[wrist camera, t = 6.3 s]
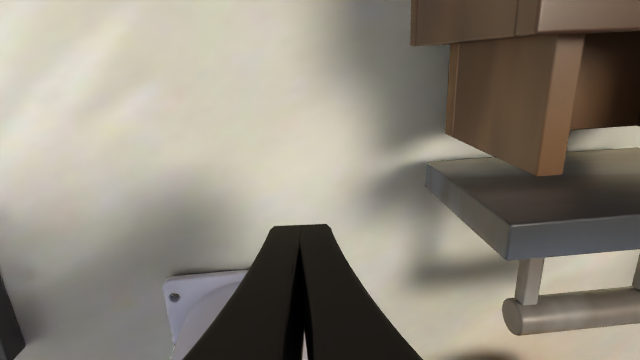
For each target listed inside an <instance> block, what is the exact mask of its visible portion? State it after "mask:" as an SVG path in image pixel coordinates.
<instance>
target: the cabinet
mask: <svg viewBox="0 0 640 360" xmlns="http://www.w3.org/2000/svg"><path fill="white" fill-rule="evenodd" d="M630 31H640V0H412V1H411V35H410V46H434V45H451V44H453V43H464V42H475V41H486V40H498V39H509V38H520V37H531V36H542V35H562V34H585V33H607V32H630Z"/></svg>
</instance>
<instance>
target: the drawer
mask: <svg viewBox="0 0 640 360" xmlns="http://www.w3.org/2000/svg"><path fill="white" fill-rule="evenodd" d="M622 126H640V31H630V32H607V33H585V34H562V35H542V36H531V37H520V38H509V39H498V40H486V41H475V42H464V43H453V44H451V47H450V63H449V79H448V95H447V111H446V127H445V134H447V135H449V136H451V137H454V138H456V139H458V140H460V141H462V142H464V143H466V144H468V145H471V146H473V147H475V148H477V149H479V150H481V151H483V152H485V153H488V154H490V155H492V156H494V158H479V159H465V160H450V161H436V162H426V168H425V187H426V188H427V189H428V190H429V191H431V192H432V193H433V194H434V195H435V196H436V197H437V198H438V199H439V200H440V201H441V202H443V203H444V204H445V205H446V206H447V207H448V208H449V209H450V210H451V211H452V212H454V213H455V214H456V215H457V216H458V217H459V218H460V219H461V220H462V221H463V222H464V223H466V224H467V225H468V226H469V227H470V228H471V229H472V230H473V231H474V232H475V233H477V234H478V235H479V236H480V237H481V238H482V239H483V240H484V241H485V242H486V243H487V244H489V245H490V246H491V247H492V248H493V249H494V250H495V251H496V252H497V253H498V254H499V255H501V256H502V257H503V258H504V259H505V260H507V261H510V260H520V262H519V269H518V276H517V283H516V290H515V298H508V299H506V300H505V301H504V302H503V306H502V313H503V318H504V321H505V323H506V326H507V327H508V329H509V330H510V331H511V332H512V333H513V334H514V335H517V336H520V335H530V334H539V333H549V332H559V331H568V330H578V329H587V328H597V327H607V326H616V325H626V324H635V323H640V255H639V259H638V263H637V267H636V271H635V274H634V278H633V282H632V286H631V287H621V288H611V289H600V290H590V291H580V292H569V293H559V294H548V295H539V289H540V283H541V276H542V270H543V264H544V258H545V257H555V256H567V255H578V254H589V253H600V252H612V251H623V250H634V249H640V148H626V149H611V150H597V151H582V152H567V153H566V150H567V144H568V138H569V132H570V130H575V129H590V128H606V127H622Z"/></svg>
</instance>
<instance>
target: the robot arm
mask: <svg viewBox="0 0 640 360" xmlns="http://www.w3.org/2000/svg"><path fill="white" fill-rule="evenodd" d="M162 290H163V294H164V299H165V304H166V309H167V314H168V319H169V323H170V328H171V333H172V338H173V343H174V350H173V352H172V355H171V357H170V360H423V359H422V358H421V357H420V356H419V355H418V354H417V353H416V351H415V350H414V349H413V348H412V347H411V346H410V345H409V344H408V342H407V341H406V340H405V339H404V338H403V337H402V336H401V334H400V333H399V332H398V331H397V330H396V329H395V327H394V326H393V325H392V324H391V322H390V321H389V320H388V319H387V317H386V316H385V315H384V314H383V312H382V311H381V310H380V308H379V307H378V306H377V304H376V303H375V302H374V301H373V299H372V298H371V296H370V295H369V294H368V292H367V291H366V289H365V288H364V286H363V285H362V283H361V282H360V280H359V279H358V277H357V276H356V274H355V273H354V271H353V270H352V268H351V267H350V265H349V263H348V262H347V260H346V258H345V257H344V255H343V253H342V251H341V250H340V248H339V246H338V244H337V242H336V240H335V238H334V235H333V233H332V230H331V228H330V227H329V226H328V225H327V224H316V225H293V226H274V227H273V228H272V229H271V230H270V231H269V234H268V236H267V238H266V240H265V242H264V244H263V246H262V248H261V250H260V252H259V253H258V255H257V257H256V259H255V260H254V262H253V264H252V265H251V267H250V269H249V270H239V271H227V272H216V273H204V274H192V275H181V276H172V277H169V278H167V279H166V280H165V282H164V284H163V288H162ZM172 293H176V294H178V295H179V296H180V297H174V296H172Z"/></svg>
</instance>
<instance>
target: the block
mask: <svg viewBox="0 0 640 360" xmlns="http://www.w3.org/2000/svg"><path fill="white" fill-rule="evenodd" d="M24 347H25V343H24V340H23V338H22V335H21V332H20V329H19V327H18V324H17V321H16V318H15V316H14V313H13V310H12V307H11V305H10V302H9V299H8V296H7V294H6V291H5V288H4V285H3V283H2V280H1V277H0V360H14V359H15V357H16V356H17V355H18V354H19V353H20V352H21V351H22V350H23V349H24Z"/></svg>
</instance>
